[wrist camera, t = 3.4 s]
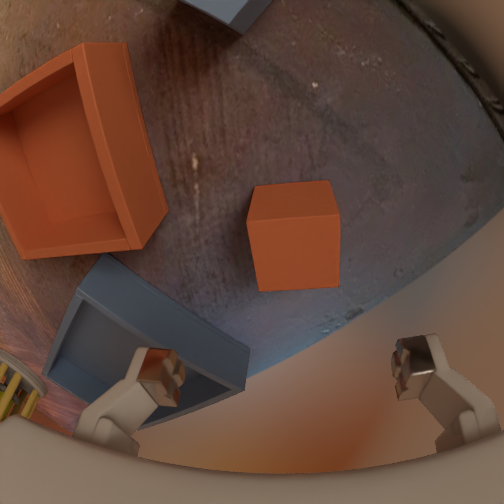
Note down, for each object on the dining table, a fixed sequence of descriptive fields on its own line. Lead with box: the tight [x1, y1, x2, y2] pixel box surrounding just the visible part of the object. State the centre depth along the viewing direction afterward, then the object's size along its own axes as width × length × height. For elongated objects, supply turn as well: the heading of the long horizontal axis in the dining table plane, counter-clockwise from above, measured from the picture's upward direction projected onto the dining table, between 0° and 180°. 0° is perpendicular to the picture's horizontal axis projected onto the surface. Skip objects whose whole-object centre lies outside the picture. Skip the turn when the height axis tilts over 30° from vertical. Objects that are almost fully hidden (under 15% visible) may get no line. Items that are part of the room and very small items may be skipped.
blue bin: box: [42, 252, 250, 430], centre depth 29 cm, size 24×16×5 cm, turn 139°
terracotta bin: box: [0, 43, 169, 260], centre depth 16 cm, size 12×12×5 cm
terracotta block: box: [246, 180, 340, 292], centre depth 17 cm, size 4×4×4 cm
